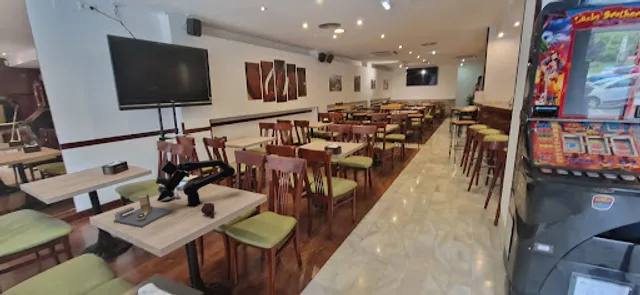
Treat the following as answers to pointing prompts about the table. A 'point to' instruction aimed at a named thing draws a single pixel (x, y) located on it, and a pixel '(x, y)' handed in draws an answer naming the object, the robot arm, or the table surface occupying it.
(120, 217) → the keeper
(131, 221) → the base board
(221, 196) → the table surface
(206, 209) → the icecream
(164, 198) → the spread jar
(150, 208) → the link
